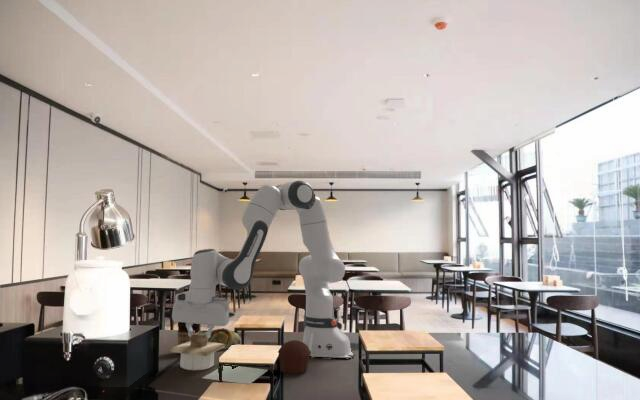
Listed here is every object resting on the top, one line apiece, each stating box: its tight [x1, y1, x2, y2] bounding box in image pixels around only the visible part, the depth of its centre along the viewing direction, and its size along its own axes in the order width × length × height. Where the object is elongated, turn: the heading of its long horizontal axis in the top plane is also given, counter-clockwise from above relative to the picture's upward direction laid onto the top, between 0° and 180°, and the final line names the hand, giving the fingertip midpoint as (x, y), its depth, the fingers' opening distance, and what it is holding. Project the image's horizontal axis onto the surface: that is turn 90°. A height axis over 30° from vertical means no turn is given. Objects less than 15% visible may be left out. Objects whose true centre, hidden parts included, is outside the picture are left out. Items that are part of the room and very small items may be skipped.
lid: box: [170, 332, 225, 356], centre depth 146 cm, size 13×13×5 cm
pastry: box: [207, 327, 242, 351], centre depth 176 cm, size 14×12×8 cm
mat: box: [202, 365, 269, 384], centre depth 138 cm, size 16×16×1 cm
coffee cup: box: [177, 322, 201, 355], centre depth 164 cm, size 9×8×13 cm
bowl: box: [179, 352, 216, 371], centre depth 146 cm, size 11×11×6 cm
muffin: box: [277, 339, 311, 375], centre depth 146 cm, size 12×11×10 cm
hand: (199, 337), depth 146 cm, fingers open, 5 cm apart
